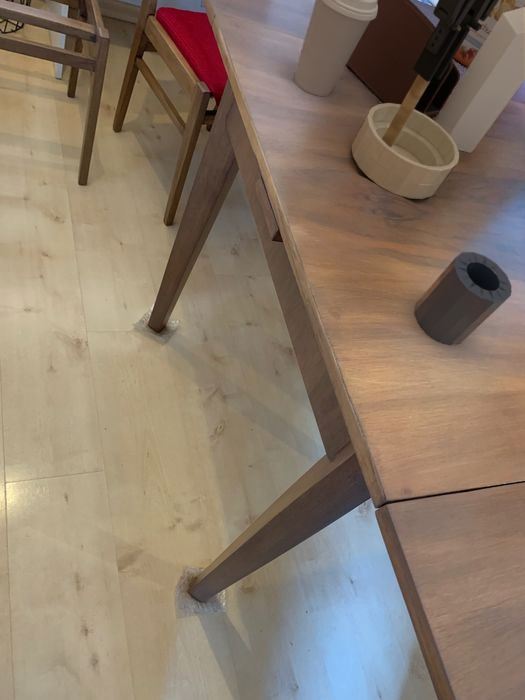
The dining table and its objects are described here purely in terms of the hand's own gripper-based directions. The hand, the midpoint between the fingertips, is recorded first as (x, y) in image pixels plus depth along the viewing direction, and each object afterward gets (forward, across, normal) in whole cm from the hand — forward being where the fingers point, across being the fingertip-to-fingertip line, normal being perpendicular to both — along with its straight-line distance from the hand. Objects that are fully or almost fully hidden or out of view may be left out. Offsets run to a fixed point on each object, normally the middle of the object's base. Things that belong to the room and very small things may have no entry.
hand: (426, 73), depth 73 cm
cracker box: (+14, -49, -16) cm, 53 cm away
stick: (+12, 0, 0) cm, 12 cm away
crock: (+14, +16, +25) cm, 33 cm away
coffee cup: (+14, -3, -18) cm, 23 cm away
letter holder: (+14, -19, -15) cm, 28 cm away
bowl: (+14, -2, +2) cm, 14 cm away
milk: (+14, -20, +1) cm, 25 cm away
